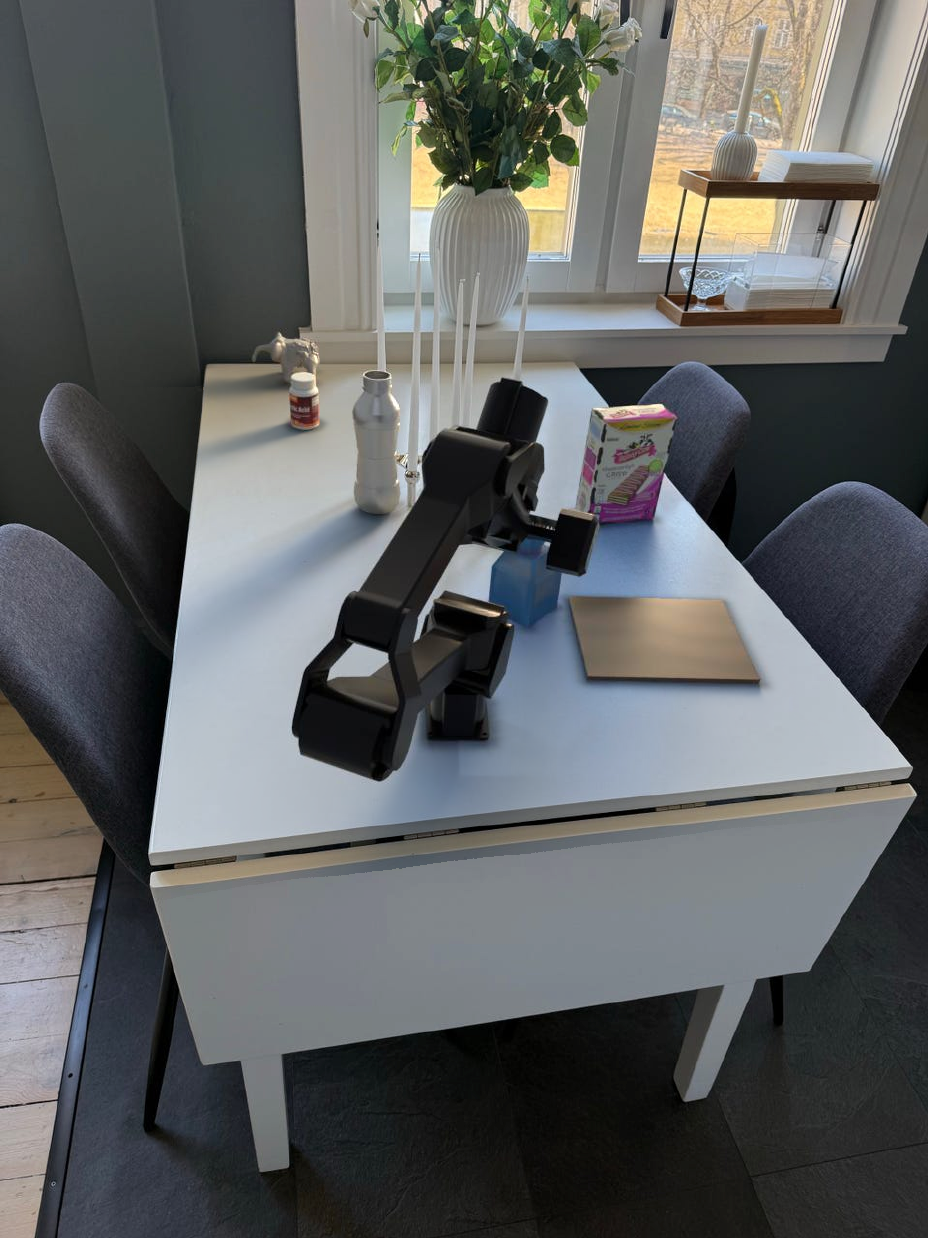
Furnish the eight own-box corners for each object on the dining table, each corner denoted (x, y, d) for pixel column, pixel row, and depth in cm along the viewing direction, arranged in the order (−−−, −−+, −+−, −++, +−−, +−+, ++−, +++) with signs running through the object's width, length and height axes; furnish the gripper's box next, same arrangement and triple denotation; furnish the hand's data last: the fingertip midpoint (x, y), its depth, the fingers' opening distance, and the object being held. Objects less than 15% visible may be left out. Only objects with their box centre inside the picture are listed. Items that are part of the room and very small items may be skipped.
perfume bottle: (517, 587, 118) (526, 505, 111) (557, 607, 115) (569, 524, 108) (487, 607, 114) (495, 523, 107) (527, 628, 111) (538, 543, 104)
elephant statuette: (327, 384, 169) (326, 343, 164) (263, 391, 164) (260, 349, 160) (312, 366, 175) (310, 326, 171) (250, 373, 171) (247, 332, 166)
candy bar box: (587, 528, 131) (604, 421, 122) (573, 511, 135) (589, 406, 125) (656, 520, 134) (678, 415, 125) (641, 504, 138) (661, 401, 129)
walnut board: (759, 683, 105) (760, 679, 104) (586, 680, 103) (587, 676, 103) (721, 603, 118) (722, 599, 117) (567, 599, 116) (568, 595, 116)
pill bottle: (286, 427, 153) (283, 379, 148) (298, 416, 156) (296, 369, 151) (312, 432, 152) (310, 383, 147) (324, 421, 155) (322, 373, 150)
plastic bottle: (393, 522, 129) (395, 387, 118) (347, 515, 130) (345, 380, 118) (405, 501, 134) (408, 369, 123) (360, 494, 135) (359, 363, 124)
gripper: (609, 446, 86) (617, 499, 101) (427, 407, 91) (460, 463, 106) (577, 557, 85) (590, 594, 100) (393, 512, 89) (431, 554, 104)
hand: (516, 547), depth 102 cm, fingers open, 9 cm apart
